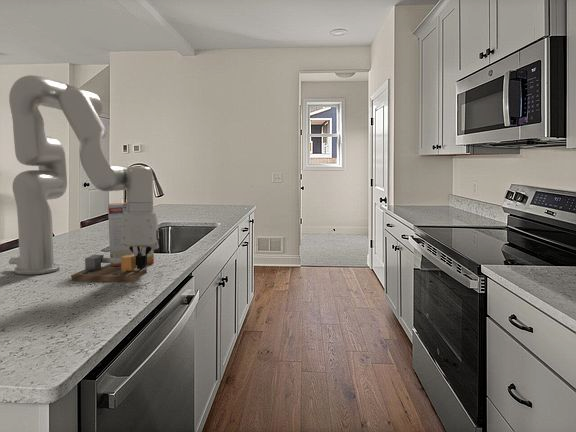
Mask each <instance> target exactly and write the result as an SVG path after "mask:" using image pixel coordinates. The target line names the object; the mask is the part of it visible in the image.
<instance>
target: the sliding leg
mask: <svg viewBox="0 0 576 432" xmlns="http://www.w3.org/2000/svg"><path fill="white" fill-rule="evenodd" d="M120 268H121V271H120V272H121V273H123V272H125V271H127V270H129V271H131V270H133V269H135V268H137V266H136V258H135V255H134V254H128V255H125V256H123V257H121V266H120Z"/></svg>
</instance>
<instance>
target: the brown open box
mask: <svg viewBox="0 0 576 432" xmlns="http://www.w3.org/2000/svg"><path fill="white" fill-rule="evenodd" d="M84 271H85V269H81V271H78V272H76V273H75V272H74V273H73V274H71V275H70V278H71V279H70V280H71V281H80V282H82V281H83V282H84V281H85V282H87V281H88V282H116V283H117V282H118V283H120V282H121V283H122V282H123V283H133V282H134V281H135V280H137V279H139V278H140V277H142V276H143V275H146V274H147V273H148V272H147V271H148V270H147V267H145V268H144V269H137V267H136V268H135V269H133V270H131V271H129V270H127V271H125V272H123V273H121V272H120V271H121V267H120V266H114V267H112V266H108V267H107V266H101V269H100V270H97V271H95V272H89V273H86V274H84Z"/></svg>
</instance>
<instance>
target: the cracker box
mask: <svg viewBox="0 0 576 432" xmlns="http://www.w3.org/2000/svg"><path fill="white" fill-rule="evenodd" d="M123 204H126V202H117V203H116V202H115V203H108V204H107V211H108V213H107V214H108V215H107V216H108V237H109V238H108V241H109V258H121V257H123V256H125V255H128V254H134V253H133V252H132V251H131V250H128V249H124V248H123V244H122V224H123V217H124V213H125V212H127V211H126V209H125V208H123ZM152 246H153V245H152ZM140 250H141V253H142V246H140ZM154 260H155V255H154V250H151V251H150V252H149V253H148V254H147V265H152V264H154V263H155V261H154ZM109 264H110V267H121V263H109Z"/></svg>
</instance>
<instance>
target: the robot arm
mask: <svg viewBox="0 0 576 432" xmlns="http://www.w3.org/2000/svg"><path fill="white" fill-rule="evenodd" d="M8 95H9V96H8V102H9V109H10V111H11V112H10V113H11V119H12V131H13V143H14V153H15V157H16V160H17V161H18V162H19V164H21V165H25V166H32V167H33V166H34V167H37V168H38V169H36V170H35V169H34V170H33V169H32V170H23V171H21V172H19V173H18V174H17V175H16V176H15V177H14V179H13V181H12V185H11V186H12V192H13V196H14V200H15V205H16V213H17V224H18V225H17V227H18V228H17V230H18V249H19V250H18V251H19V253H18V254H19V256H18V257H15V256H14V257H10V259H9V260H8V265H16V267H15V268H14V273H15V274H17V275H27V276H30V275H42V274H48V273H54V272H56V271H58V270H60V265H59V264H57V263H55V260H54V237H53V236H54V235H53V215H52V210H51V207H50V205H49V202H48V200H56V199H59V198H61V197H62V196H64V195H65V193H66V191H67V187H68V176H67V173H68V172H67V163H66V161H67V159H66V153H65V149H64V147H63V144H62V143H61V142H60V141H59V140H58V139H56V138H54V137H52V136H46V131H45V122H44V118H43V115H42V113H41V111H40V109H39V106H42V107H47V108H52V109H57V110H61V111H62V113H63V114H64V117H65V118H66V121H67V122H68V124H69V125H70V127H71V129H72V132H73V133H74V135H75V136H76V138H77V140H78V142H79V148H78V149H79V150H78V151H79V152H78V153H79V159H80V164H81V166H82V168H83V170H84V172H85V175H87V178H88V179H89V181H90V182H91V184H92V185H93V186H94V188H96V189H97V190H100V191H101V192H114V191H115V192H117V191H126V202H125V203H126V204H123V208H125V209H126V211H127V212H125V213H124V217H123V224H122V244H123V248H124V249H128V250H131V251H132V252H133V253H134V255H135V258H136V268H137V269H144V268H147V265H148V264H147V254H148V253H149V252H150V251H151V250H153V251H154V250H158V249H159V248H160V245H159V241H160V236H159V235H160V234H159V232H160V231H159V225H158V217H157V214H156V212H155V211H154V185H153V180H154V179H153V170H152V168H151V167H149V166H125V165H115V164H114V165H110V163H109V162H108V160H107V158H106V156H105V154H104V153H103V150H102V149H103V148H102V140H103V139H104V138H106V137H107V134H108V132H107V129H106V127H105V125H104V123H103V122H102V119H101V118H100V116H101V114H102V113H103V109H104V108H103V107H104V106H103V103H102V100H101V98H100V96H98V95H97V94H96V93H94V92H92V91H89V90H85V89H82V88H78V87H76V86H73V85H71V84H69V83H65V82H61V81H59V80H55V79H51V78H48V77H45V76H41V75H31V74H29V75H25V76H21V77H20V78H18V79H17V80H16V81H15V82H13V84H12V86H11V88H10V91H9V94H8ZM152 245H153V246H152ZM140 246H142V253H141V250H140Z"/></svg>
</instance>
